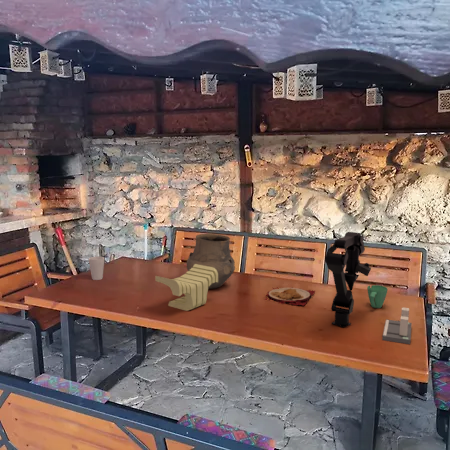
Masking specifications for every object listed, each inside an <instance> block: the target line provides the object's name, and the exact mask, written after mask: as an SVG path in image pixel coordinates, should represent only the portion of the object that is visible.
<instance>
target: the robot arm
mask: <svg viewBox="0 0 450 450" xmlns="http://www.w3.org/2000/svg"><path fill="white" fill-rule="evenodd" d="M363 237H364V236H363V235H362V233H361V232H353V231H347V232H346V233H345V234H344V236H343V237H341V238H337V239H335V240H334V242H333V245H331V246H330V247H329V248H328V249H327V251H326V254H325V258H324V261H325V263H326V267H327V269H329V270H330V271H331V272H332V276H333V282H334V287H335V292H336V293H335V296H334V297H333V299H332V303H331V304H332V305H331V308H330V309H331V312H334V321H332V322H331V325H334V326H337V327H340V328H343V329H344V328H346V327H348V326H351V325H352V323H351V322H350V321H349V320H350V314H352V313H353V311H354V310H353V309H354V304H355V299H354V295H353V288H354V284H355V282H356V281H357V280H358V278H359V276H360V275H359V274H362V275H364V276H366V277H368V276H369V274H370V271H371V270H372V267H370V263H368V262H365V263H363V264H362V263H361V260H360V258H359V257H360V256H361V255H362V254H363V253H365V249H366V248H365V244H364V243H365V242H364V238H363ZM337 249H341V250H344V251H345V252H344V254H343V253H335V252H336V250H337Z"/></svg>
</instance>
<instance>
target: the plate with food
mask: <svg viewBox="0 0 450 450" xmlns="http://www.w3.org/2000/svg"><path fill="white" fill-rule="evenodd" d="M278 288H279V289H277V288H273V289H272V290H269V291H267V293H268V294H267V293H266V295H265V297H266V298H264V300H267V299H268V301H270V300H272V299H273V300H275V301H274V302H277V303H278V304H281V305H286V304H287V303H288V304H289V305H291V306H303V307H304V306H305V305H307V304H308V302H309V301H310V300H311V298H312V297H313V295H314V294H315V293H316V290H311V289H309V290H307V289H303V288H297V287H293V286H292V287H278ZM281 292H282V293H281ZM269 297H270V298H271V299H270V298H269Z"/></svg>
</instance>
